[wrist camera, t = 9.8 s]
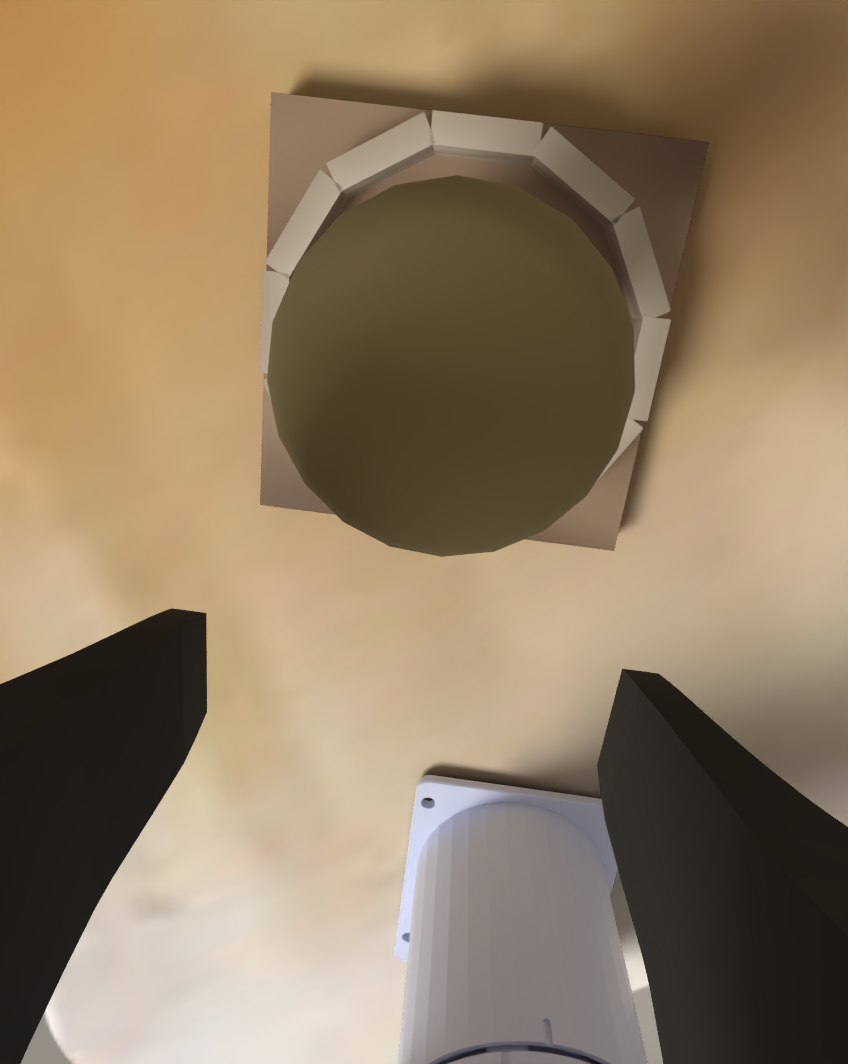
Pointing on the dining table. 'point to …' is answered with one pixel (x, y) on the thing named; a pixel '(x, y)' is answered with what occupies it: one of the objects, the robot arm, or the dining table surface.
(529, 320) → the cork
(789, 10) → the dining table surface
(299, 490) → the cup holder
